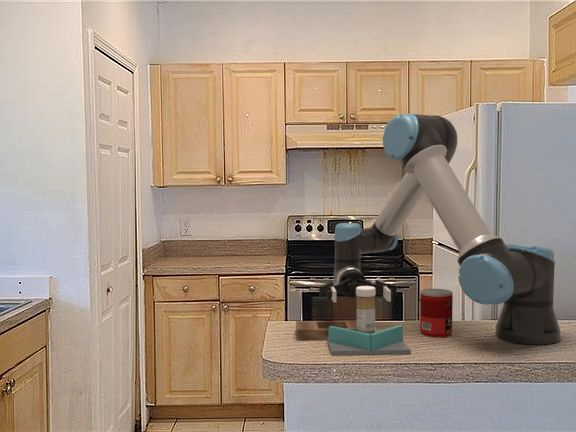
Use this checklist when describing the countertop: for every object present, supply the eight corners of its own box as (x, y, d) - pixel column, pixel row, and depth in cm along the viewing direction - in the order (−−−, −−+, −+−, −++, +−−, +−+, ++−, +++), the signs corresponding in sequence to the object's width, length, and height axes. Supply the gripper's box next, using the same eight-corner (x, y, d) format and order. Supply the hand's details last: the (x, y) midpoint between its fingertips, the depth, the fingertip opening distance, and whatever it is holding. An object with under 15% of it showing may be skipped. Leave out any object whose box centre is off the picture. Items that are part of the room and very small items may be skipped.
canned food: (452, 338, 164) (453, 294, 164) (420, 336, 166) (420, 293, 165) (451, 330, 172) (451, 288, 171) (420, 329, 173) (420, 288, 173)
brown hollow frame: (364, 330, 173) (364, 320, 173) (370, 339, 164) (370, 329, 164) (296, 331, 173) (295, 321, 173) (297, 340, 163) (297, 330, 163)
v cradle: (400, 340, 163) (400, 322, 162) (410, 354, 151) (410, 334, 150) (327, 341, 162) (327, 323, 162) (331, 355, 150) (331, 335, 150)
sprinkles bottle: (373, 340, 159) (373, 285, 158) (377, 345, 154) (377, 288, 153) (354, 341, 158) (354, 285, 157) (358, 346, 154) (358, 289, 153)
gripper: (395, 294, 187) (411, 310, 166) (307, 295, 186) (312, 312, 165) (395, 268, 186) (412, 281, 165) (307, 269, 186) (312, 282, 164)
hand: (362, 296), depth 165 cm, fingers open, 13 cm apart
